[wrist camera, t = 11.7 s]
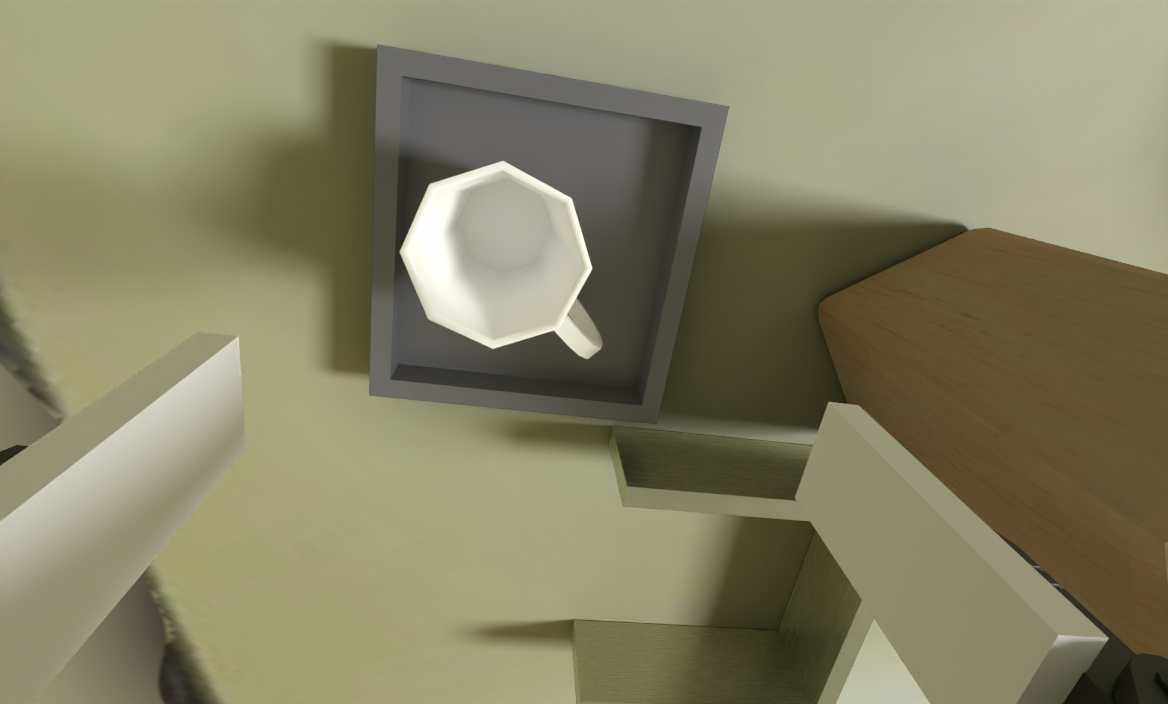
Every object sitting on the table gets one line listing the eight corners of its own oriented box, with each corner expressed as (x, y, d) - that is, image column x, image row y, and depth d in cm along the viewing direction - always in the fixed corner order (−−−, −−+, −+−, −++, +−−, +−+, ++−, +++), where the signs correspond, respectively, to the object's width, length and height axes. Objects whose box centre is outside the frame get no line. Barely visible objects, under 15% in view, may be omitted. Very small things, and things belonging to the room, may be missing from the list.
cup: (513, 113, 27) (505, 115, 20) (641, 275, 31) (676, 329, 23) (403, 212, 28) (357, 248, 21) (538, 356, 32) (539, 432, 24)
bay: (612, 425, 35) (627, 486, 29) (862, 450, 37) (921, 511, 31) (571, 632, 41) (577, 715, 35) (788, 643, 43) (826, 723, 37)
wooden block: (853, 437, 36) (1184, 777, 18) (805, 299, 32) (1163, 550, 14) (1010, 367, 35) (1533, 651, 17) (980, 216, 31) (1611, 370, 13)
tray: (391, 50, 26) (377, 44, 24) (712, 106, 28) (729, 106, 26) (381, 373, 32) (369, 395, 30) (647, 401, 34) (656, 424, 32)
